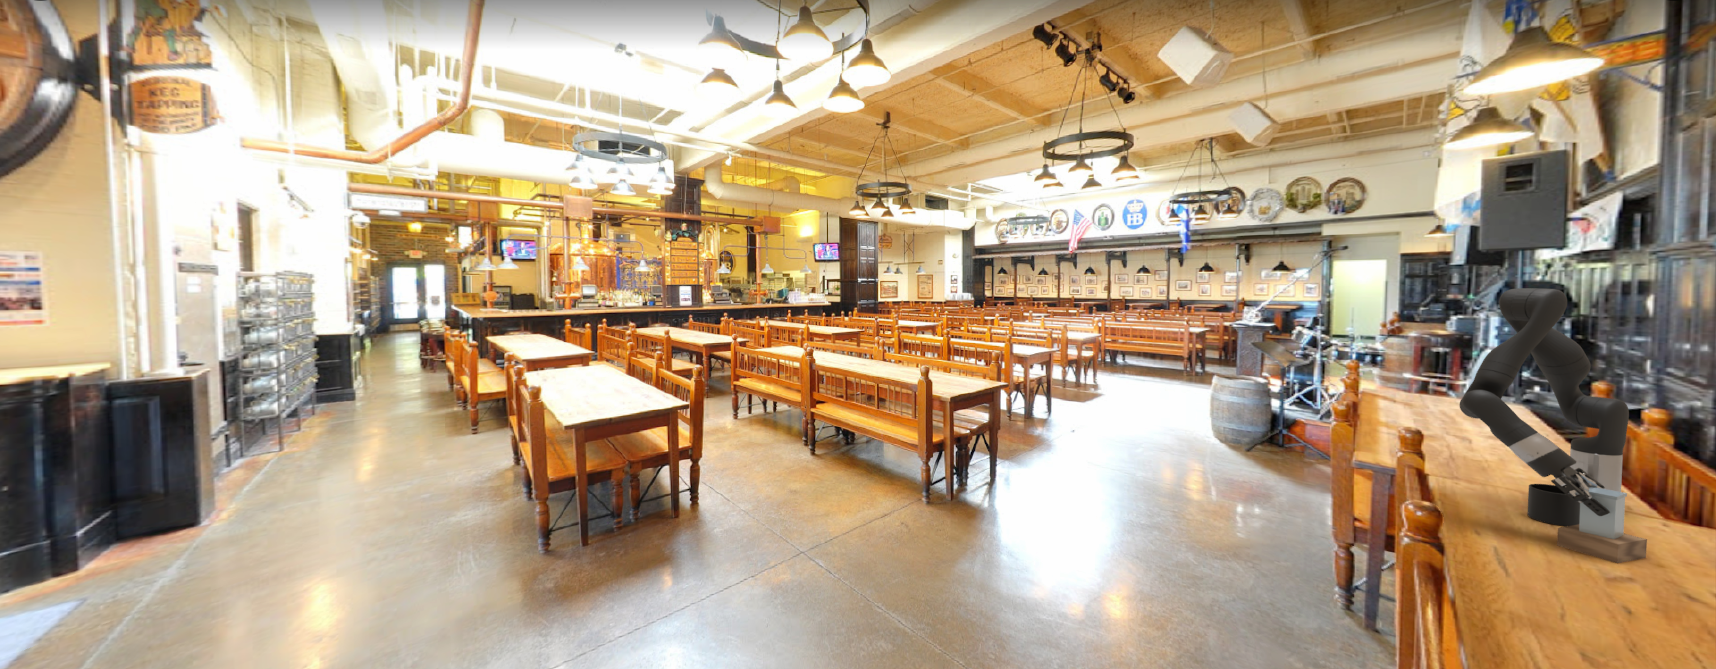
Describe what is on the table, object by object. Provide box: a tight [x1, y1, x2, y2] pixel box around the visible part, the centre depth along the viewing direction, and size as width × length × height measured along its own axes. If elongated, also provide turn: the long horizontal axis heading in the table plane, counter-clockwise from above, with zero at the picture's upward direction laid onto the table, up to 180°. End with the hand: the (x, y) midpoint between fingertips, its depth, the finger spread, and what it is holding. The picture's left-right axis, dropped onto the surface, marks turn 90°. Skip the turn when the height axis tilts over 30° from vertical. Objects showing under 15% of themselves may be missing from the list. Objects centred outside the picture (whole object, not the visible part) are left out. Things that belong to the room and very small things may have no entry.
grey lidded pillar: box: [1579, 487, 1628, 539], centre depth 138 cm, size 6×6×11 cm
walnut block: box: [1556, 525, 1648, 564], centre depth 138 cm, size 10×10×5 cm
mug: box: [1527, 483, 1580, 527], centre depth 158 cm, size 9×12×9 cm
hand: (1611, 511), depth 137 cm, fingers open, 8 cm apart
